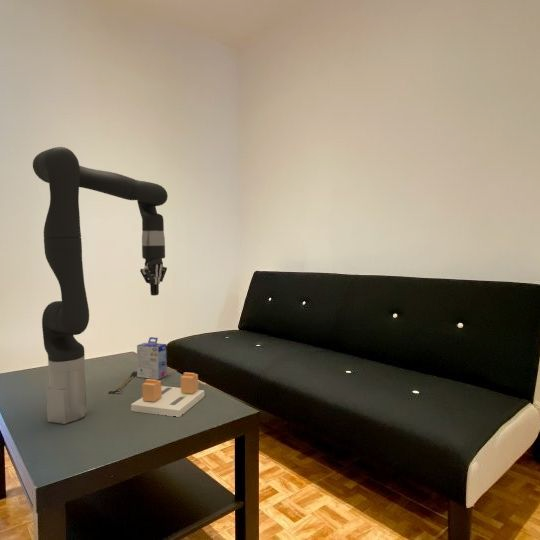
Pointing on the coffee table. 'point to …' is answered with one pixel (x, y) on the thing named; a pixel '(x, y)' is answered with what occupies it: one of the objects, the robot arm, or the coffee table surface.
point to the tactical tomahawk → (124, 383)
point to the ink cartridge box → (151, 360)
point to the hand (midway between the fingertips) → (154, 295)
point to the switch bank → (169, 402)
